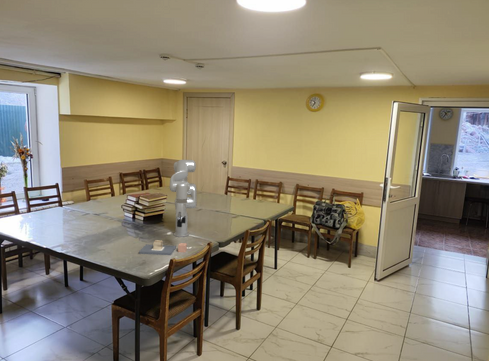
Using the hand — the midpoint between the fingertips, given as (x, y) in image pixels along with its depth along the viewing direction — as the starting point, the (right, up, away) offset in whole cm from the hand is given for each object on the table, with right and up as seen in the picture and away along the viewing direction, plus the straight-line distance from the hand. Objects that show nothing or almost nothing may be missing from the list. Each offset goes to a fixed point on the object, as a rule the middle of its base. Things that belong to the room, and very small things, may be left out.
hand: (181, 225), depth 234 cm
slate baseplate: (-17, -18, +3) cm, 25 cm away
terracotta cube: (0, -19, +4) cm, 19 cm away
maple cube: (-17, -17, +2) cm, 24 cm away
